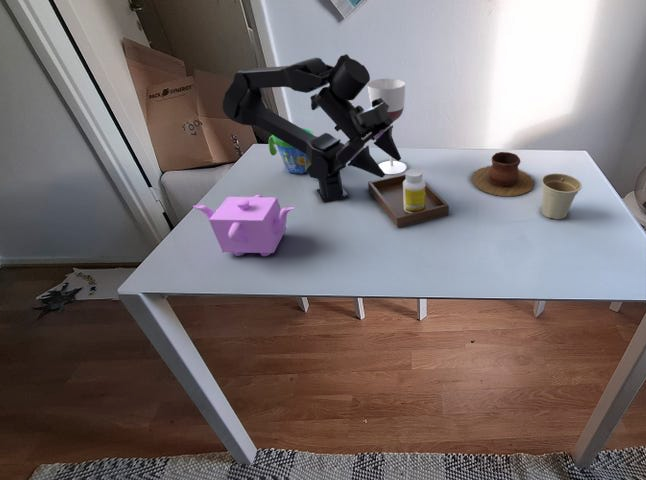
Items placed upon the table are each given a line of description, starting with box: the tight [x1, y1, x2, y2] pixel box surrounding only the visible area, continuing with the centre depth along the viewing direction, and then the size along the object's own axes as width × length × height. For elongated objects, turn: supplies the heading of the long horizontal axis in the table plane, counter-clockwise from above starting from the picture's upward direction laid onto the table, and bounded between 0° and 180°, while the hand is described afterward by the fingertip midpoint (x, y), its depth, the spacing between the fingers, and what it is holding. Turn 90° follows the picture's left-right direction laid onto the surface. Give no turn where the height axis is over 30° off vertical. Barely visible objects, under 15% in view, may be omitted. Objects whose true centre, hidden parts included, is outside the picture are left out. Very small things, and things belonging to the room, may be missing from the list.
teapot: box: [192, 194, 296, 257], centre depth 81 cm, size 15×13×11 cm
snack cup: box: [268, 127, 314, 175], centre depth 109 cm, size 16×10×10 cm
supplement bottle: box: [403, 168, 426, 213], centre depth 93 cm, size 5×5×10 cm
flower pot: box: [541, 172, 583, 220], centre depth 95 cm, size 9×9×9 cm
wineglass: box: [367, 78, 407, 175], centre depth 107 cm, size 9×10×23 cm
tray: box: [367, 173, 450, 229], centre depth 99 cm, size 20×14×3 cm
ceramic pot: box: [470, 151, 535, 197], centre depth 108 cm, size 18×18×7 cm
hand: (392, 167), depth 90 cm, fingers open, 9 cm apart
